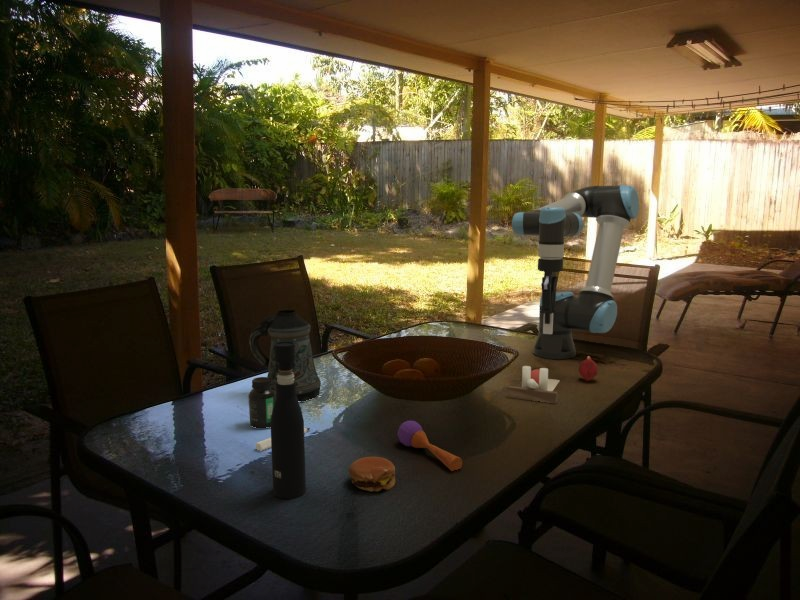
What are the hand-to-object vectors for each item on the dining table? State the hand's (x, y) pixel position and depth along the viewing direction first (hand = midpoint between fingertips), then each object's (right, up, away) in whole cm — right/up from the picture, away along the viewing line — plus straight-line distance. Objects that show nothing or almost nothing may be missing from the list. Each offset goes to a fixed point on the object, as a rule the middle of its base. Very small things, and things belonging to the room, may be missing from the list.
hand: (547, 333), depth 189 cm
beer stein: (-79, -18, -11) cm, 82 cm away
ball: (-5, -14, -6) cm, 15 cm away
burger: (-52, -27, -65) cm, 87 cm away
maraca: (-40, -25, -52) cm, 70 cm away
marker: (-74, -24, -43) cm, 89 cm away
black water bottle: (-68, -28, -69) cm, 101 cm away
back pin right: (-9, -17, -11) cm, 23 cm away
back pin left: (-5, -18, -13) cm, 23 cm away
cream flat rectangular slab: (-2, -16, -1) cm, 16 cm away
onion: (+13, -15, +3) cm, 20 cm away
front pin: (-5, -16, -9) cm, 19 cm away
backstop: (-8, -18, -15) cm, 25 cm away
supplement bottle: (-81, -22, -34) cm, 90 cm away
